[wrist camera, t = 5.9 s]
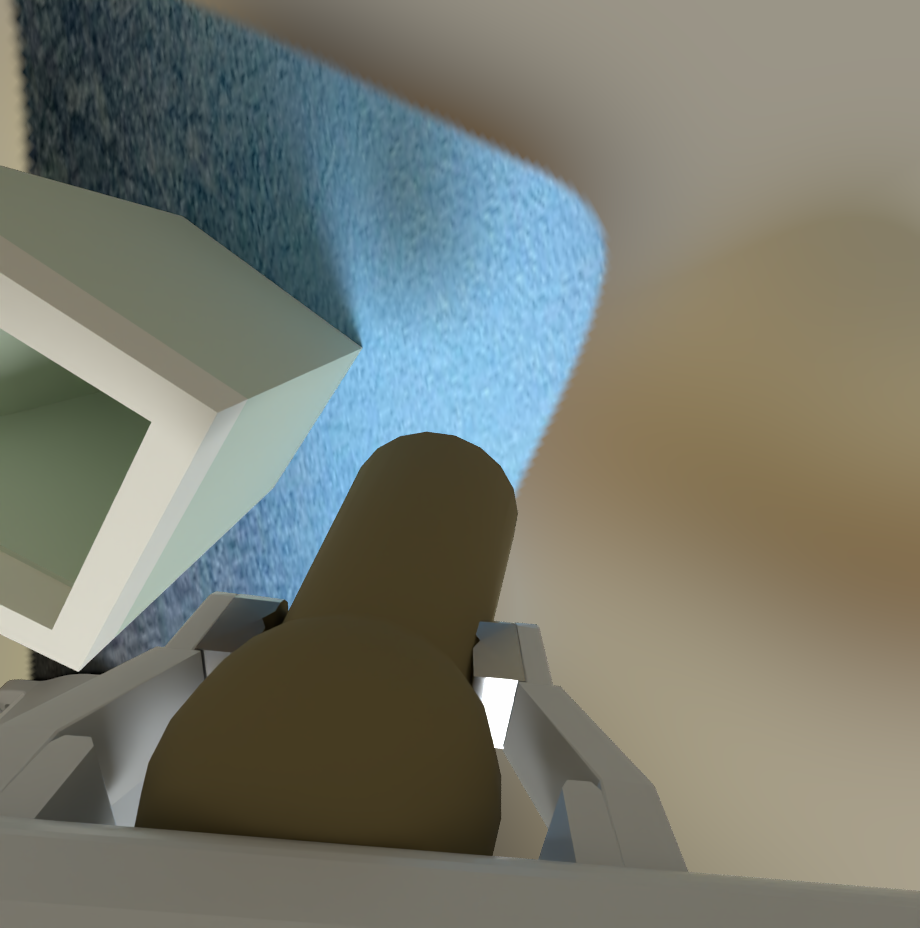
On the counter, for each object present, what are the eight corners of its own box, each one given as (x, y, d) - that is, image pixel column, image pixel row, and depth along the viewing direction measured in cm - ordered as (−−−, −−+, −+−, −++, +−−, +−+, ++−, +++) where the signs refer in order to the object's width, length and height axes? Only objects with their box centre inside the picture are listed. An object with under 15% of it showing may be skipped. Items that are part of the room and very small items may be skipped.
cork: (362, 580, 17) (127, 1024, 6) (340, 433, 14) (-65, 741, 4) (517, 585, 16) (533, 1092, 6) (517, 430, 14) (543, 793, 4)
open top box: (273, 487, 27) (78, 672, 14) (110, 385, 25) (-307, 486, 12) (362, 347, 24) (217, 412, 10) (182, 216, 22) (-291, 84, 8)
